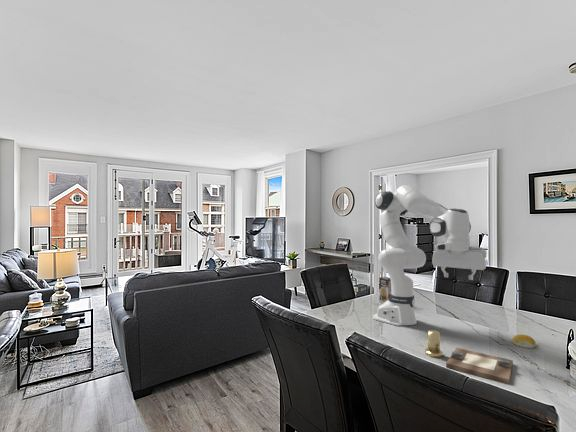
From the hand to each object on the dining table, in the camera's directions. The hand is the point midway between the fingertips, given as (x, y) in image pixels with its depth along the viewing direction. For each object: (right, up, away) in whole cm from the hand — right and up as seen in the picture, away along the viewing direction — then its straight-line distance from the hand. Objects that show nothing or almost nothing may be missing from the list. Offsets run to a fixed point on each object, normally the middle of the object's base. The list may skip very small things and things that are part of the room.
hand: (458, 278), depth 135 cm
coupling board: (-2, -29, -18) cm, 34 cm away
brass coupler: (-14, -29, -8) cm, 33 cm away
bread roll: (+29, -29, +2) cm, 42 cm away
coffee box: (-9, -30, +69) cm, 75 cm away
